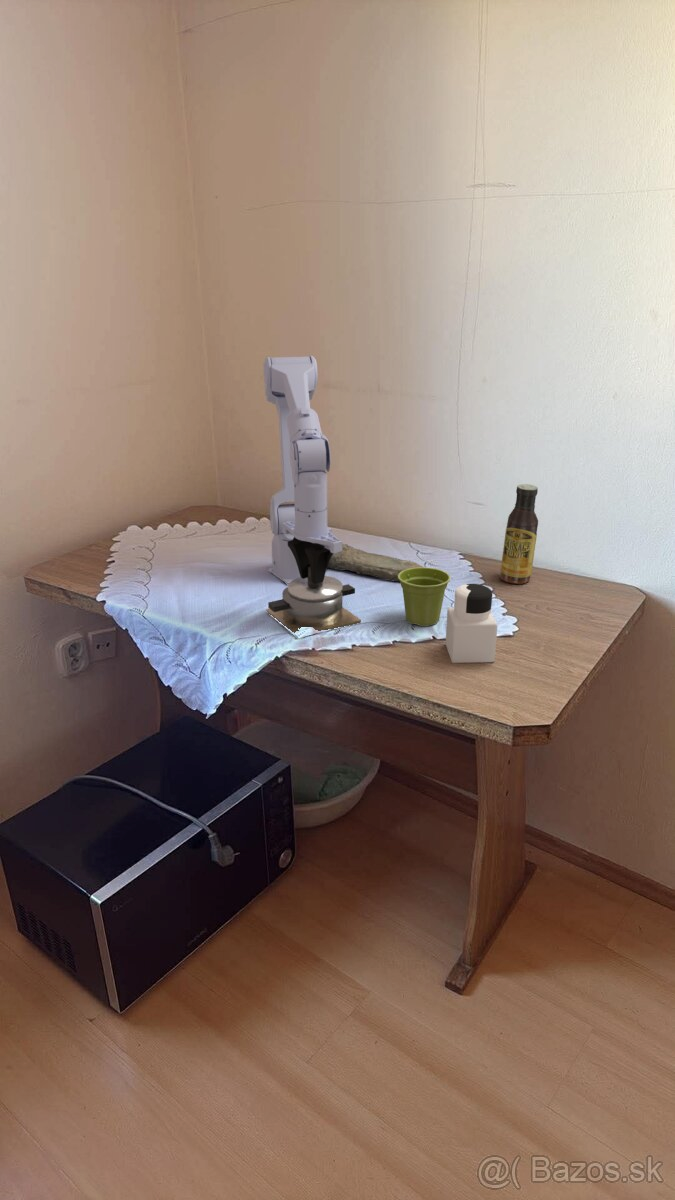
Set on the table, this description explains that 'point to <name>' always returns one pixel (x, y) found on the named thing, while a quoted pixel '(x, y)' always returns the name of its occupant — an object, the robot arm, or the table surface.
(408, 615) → the plant pot
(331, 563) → the long grey stone
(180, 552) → the table surface
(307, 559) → the robot arm
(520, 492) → the sauce bottle
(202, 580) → the table surface
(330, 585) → the lid
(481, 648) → the medicine bottle
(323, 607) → the pot
